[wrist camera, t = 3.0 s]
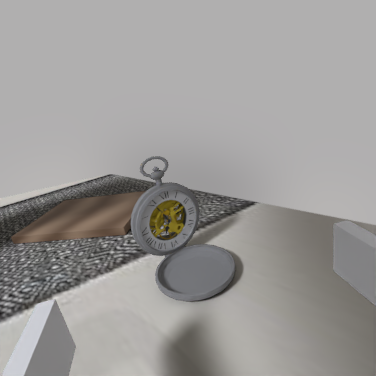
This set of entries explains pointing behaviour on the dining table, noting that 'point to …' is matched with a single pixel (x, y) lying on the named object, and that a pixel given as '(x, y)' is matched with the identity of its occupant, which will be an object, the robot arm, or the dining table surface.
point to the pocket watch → (178, 241)
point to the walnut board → (82, 219)
